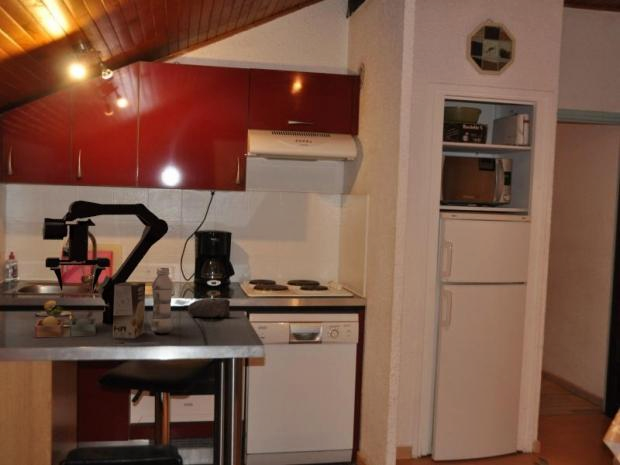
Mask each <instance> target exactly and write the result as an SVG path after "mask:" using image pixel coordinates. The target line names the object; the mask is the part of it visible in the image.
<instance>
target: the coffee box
mask: <svg viewBox="0 0 620 465" xmlns="http://www.w3.org/2000/svg"><path fill="white" fill-rule="evenodd" d="M146 284H147V283H146V282H135V281H134V282H133V281H132V282H130V281H128V282H127V281H126V282H125V283H120V284H115V285H114V312H113V324H112V338H113V339H115V338H116V339H135V338H137V337H139V336H141V335H143V334H144V332H145V331H144V330H145V312H146V311H145V307H146V301H145V300H146Z"/></svg>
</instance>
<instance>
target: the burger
mask: <svg viewBox="0 0 620 465" xmlns="http://www.w3.org/2000/svg"><path fill="white" fill-rule="evenodd" d="M45 298H46V302H45V303H44V304H43V308H44V311H38V312H36V313H35V316H34V317H35V318H43V317H44V318H46V317H49V316H53V317H55V318H61V317H69V316H71V315H72V314H73V311H69V310H64V308H62V307H61V306H59V305H58V304H57V302H56V301H55V300H48V298H47V297H45Z"/></svg>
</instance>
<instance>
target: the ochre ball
mask: <svg viewBox="0 0 620 465" xmlns="http://www.w3.org/2000/svg"><path fill="white" fill-rule="evenodd" d="M57 319H58V318H57V317H53V316H49V317H44V319H42V320H43V322H42V326H58V320H57Z"/></svg>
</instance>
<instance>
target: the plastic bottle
mask: <svg viewBox="0 0 620 465" xmlns="http://www.w3.org/2000/svg"><path fill="white" fill-rule="evenodd" d="M169 275H170V268H169V267H157V268H156V278H154V281H152V284H151V290H152V291H151V292H152V303H153V304H152V306H153V307H152V308H153V309H152V316H151V319H150V320H151V321H150V330H151V331H152V332H153V333H154V334H159V333H160V334H159V335H162V334H163V333H164V334H167V333H168V334H169V333H170V332H171V330H172V329H173V320H172V319H173V318H172V312H171V310H172V309H171V307H172V306H171V305H172V304H171V303H172V295H173V290H174V283H173V280H172V279H171V278H170V277H169ZM164 334H163V335H164Z"/></svg>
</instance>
